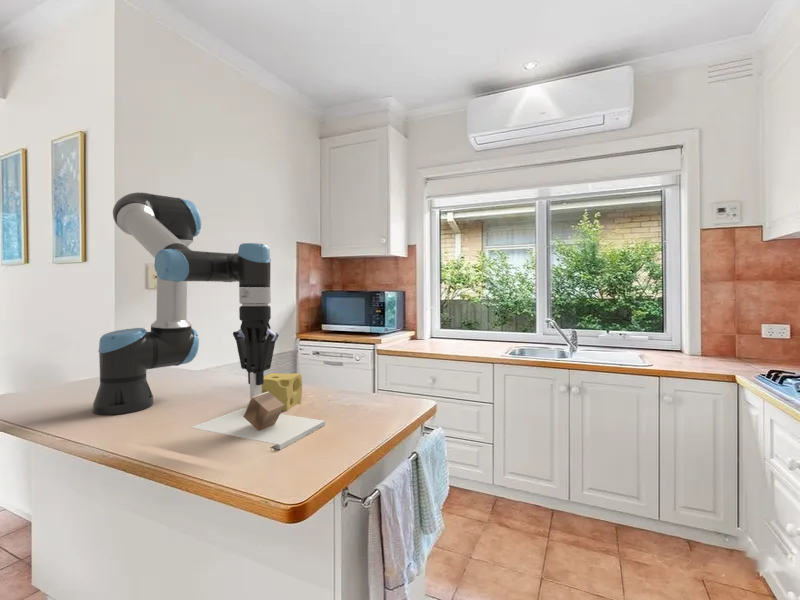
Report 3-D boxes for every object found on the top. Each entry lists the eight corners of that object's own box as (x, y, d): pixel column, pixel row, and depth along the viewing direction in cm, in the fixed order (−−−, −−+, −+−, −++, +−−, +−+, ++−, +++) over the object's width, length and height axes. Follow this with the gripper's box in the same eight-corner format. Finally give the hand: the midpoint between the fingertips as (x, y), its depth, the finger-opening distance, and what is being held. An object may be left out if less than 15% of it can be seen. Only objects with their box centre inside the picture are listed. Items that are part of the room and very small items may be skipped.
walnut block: (251, 397, 103) (268, 411, 101) (268, 391, 108) (284, 405, 106) (242, 416, 104) (258, 431, 102) (259, 409, 110) (275, 423, 108)
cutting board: (190, 432, 105) (190, 427, 105) (243, 412, 121) (243, 408, 121) (280, 450, 94) (280, 444, 94) (324, 425, 110) (324, 420, 110)
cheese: (287, 415, 119) (286, 380, 118) (252, 412, 121) (252, 378, 120) (302, 405, 129) (302, 373, 128) (270, 403, 131) (270, 371, 131)
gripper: (224, 305, 104) (225, 398, 105) (265, 306, 99) (266, 403, 100) (246, 303, 111) (247, 391, 112) (285, 304, 106) (286, 396, 107)
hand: (256, 397), depth 106 cm, fingers closed
